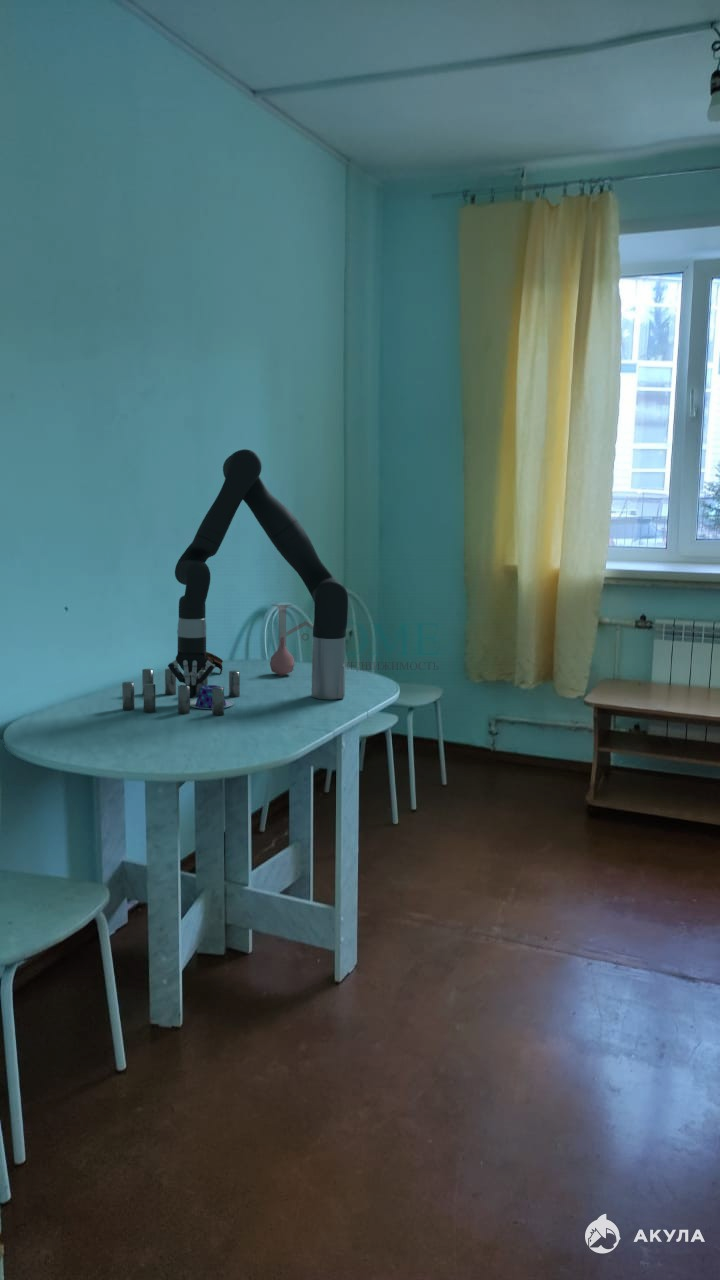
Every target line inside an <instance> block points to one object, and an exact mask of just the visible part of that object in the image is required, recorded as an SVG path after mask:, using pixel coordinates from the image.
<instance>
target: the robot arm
mask: <svg viewBox="0 0 720 1280" xmlns="http://www.w3.org/2000/svg"><path fill="white" fill-rule="evenodd" d="M222 473H223V476H224V482H223V483H222V487H221V488H220V491H219V492H218V494H217V497H216V498H215V500H214V502H213V503H212V505H211V506H210V508H209V510H208V511H207V513H206V514H205V516H204V518H203V519H202V521H201V522H200V525H199V527H198V529H197V531H196V532H195V535H194V538H193V539H192V542H191V543H190V544H189V546H188V547H187V548H186V549H185V551H183V553H182V554H181V556H180V557H179V559H178V560H177V562H176V565H175V568H174V577H175V579H176V580H177V582H178V583H180V584H182V585H184V586H185V592H184V595H182V596H181V597H180V598H179V599H178V621H177V631H176V633H177V655H176V656H175V660H173V661H172V662H170V663H168V665H167V667H168V669H170V670H171V671H172V673H173V674H174V675H175V677H176V680H178V682H179V683H183V684H184V685H189V686H190V700H191V699H192V700H193V699H194V700H195V698H196V697H198V696H197V694H198V684H199V683H202V682H203V681H204V680H205V679H206V678H207V677H208V678H209V675H210V674H211V673H212V672H213V671H214V669H215V668H216V667H215V664H212V663H210V662H209V661H208V657H207V655H206V652H207V621H206V620H207V619H206V612H207V611H206V610H207V609H206V608H207V607H206V602H207V598H208V594H209V590H210V585H211V571H210V568H209V565H208V564H207V563H206V562H207V560H208V559H209V558H211V557H213V556H216V554H217V553H218V552H219V549H220V547H221V545H222V543H223V540H224V538H225V537H226V534H227V532H228V530H229V528H230V526H231V523H232V522H233V519H234V517H235V515H236V513H237V511H238V509H239V507H240V505H241V503H242V502H244V503H245V504H246V505H247V507H248V508H249V510H250V511H251V513H252V515H254V517H255V519H256V520H257V523H258V524H259V525H260V526H261V528H262V529H263V531H264V533H265V534H266V535H267V537H268V538H269V540H270V542H271V543H272V545H274V547H275V549H276V550H277V551H278V553H279V554H280V555H281V556H282V558H283V559H284V560H285V561H286V562H287V563H288V564H289V565H290V567H291V568H293V570H294V571H295V572H296V573H297V574H298V576H299V577H300V579H301V581H302V582H303V584H304V585H305V587H306V589H307V591H308V593H309V594H310V596H311V598H312V600H313V603H314V610H313V611H314V612H313V613H314V614H313V615H314V619H313V626H312V648H311V649H312V650H311V651H312V652H311V653H312V659H311V660H312V661H311V666H312V667H311V697H312V698H315V699H318V700H338V699H339V700H341V699H343V700H344V698H345V693H346V666H347V665H346V632H347V628H348V627H347V626H348V614H349V613H348V611H349V609H348V608H349V596H348V594H349V593H348V590H347V588H346V587H345V585H343V584H342V583H341V582H339V580H337V578H335V576H333V574H332V573H331V572H330V571H329V570H328V568H327V567H326V565H324V563H323V562H322V560H321V559H320V558H319V555H318V553H317V552H316V550H315V549H316V548H315V547H314V545H313V543H312V541H311V540H310V538H309V536H308V534H307V532H306V531H305V529H304V527H303V526H302V525H301V523H300V522H299V520H298V519H297V517H296V516H295V515H294V513H292V512H291V510H290V509H289V508H288V507H287V506H285V504H283V503H282V502H281V501H280V500H279V499H278V498H276V497H275V496H274V495H273V494H272V493H271V492H270V491H269V489H268V488H267V487H266V485H265V483H264V481H263V480H262V479H261V476H260V475H261V473H262V462H261V459H260V456H259V455H258V454H257V453H256V452H254V451H253V450H250V449H246V448H245V449H240V450H237V451H235V452H233V453H232V454H231V455H229V456H227V458H226V459H225V460H224V462H223V465H222ZM205 664H206V667H205V669H206V671H205V673H204V674H203V675H202V676H201V677H200V678H198V676H199V671H200V670H201V669H202V668H203V667H204V665H205ZM179 667H180V669H181V670H182V671H183V673H182V671H181V670H180V669H179Z"/></svg>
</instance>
